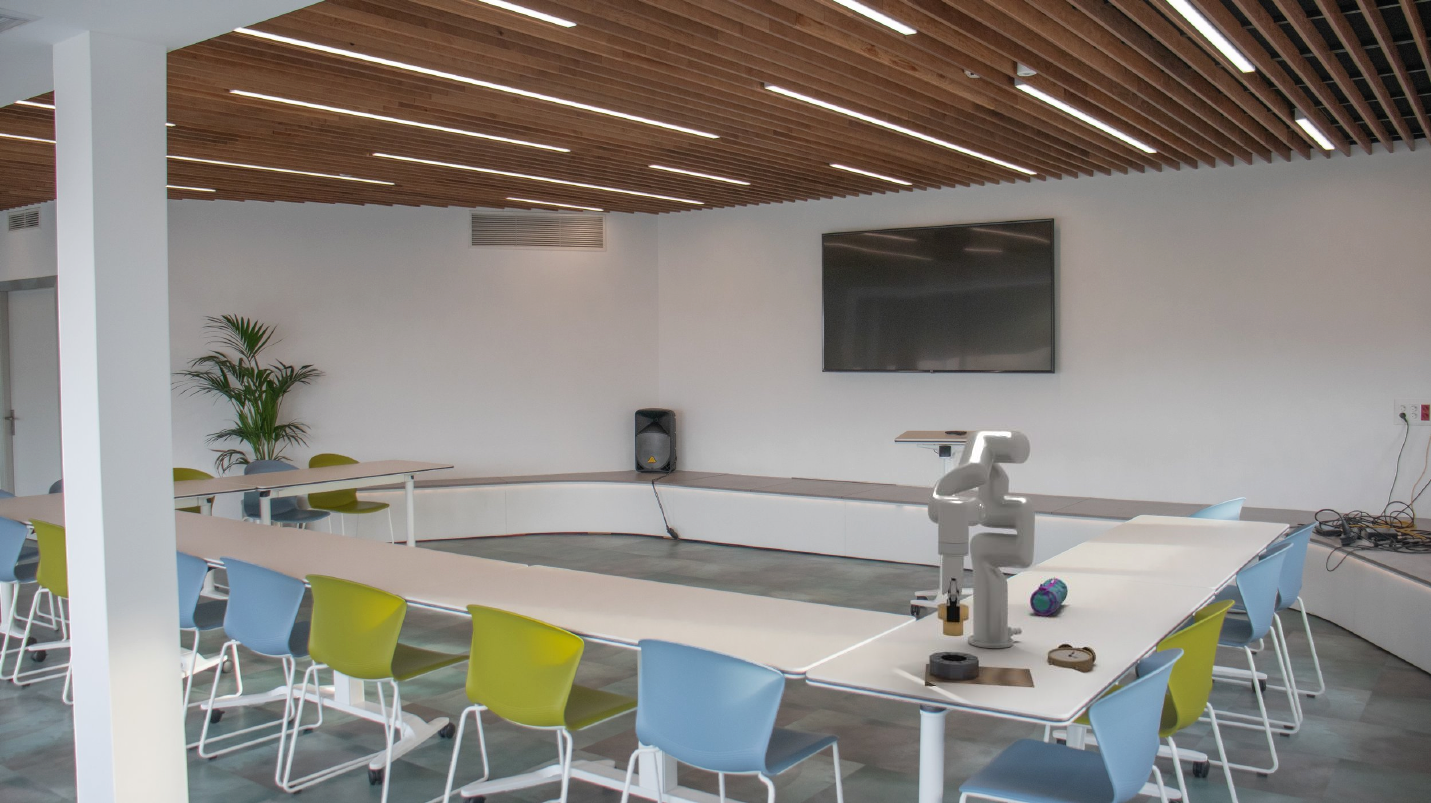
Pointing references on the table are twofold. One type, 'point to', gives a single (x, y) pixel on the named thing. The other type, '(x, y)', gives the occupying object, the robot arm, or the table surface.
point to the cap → (953, 627)
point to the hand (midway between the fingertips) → (953, 618)
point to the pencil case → (1048, 597)
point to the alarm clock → (1072, 657)
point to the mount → (991, 677)
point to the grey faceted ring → (954, 666)
